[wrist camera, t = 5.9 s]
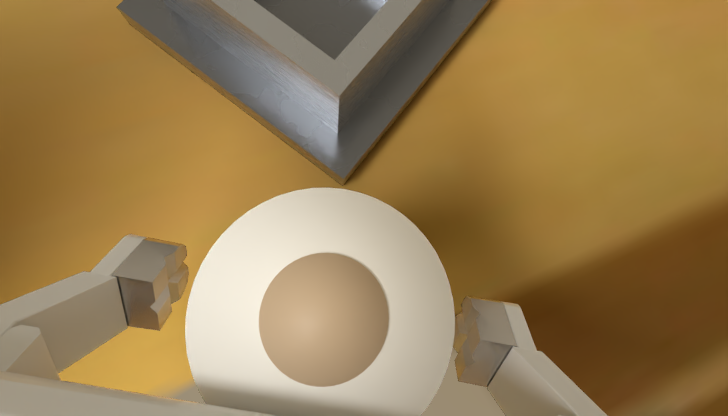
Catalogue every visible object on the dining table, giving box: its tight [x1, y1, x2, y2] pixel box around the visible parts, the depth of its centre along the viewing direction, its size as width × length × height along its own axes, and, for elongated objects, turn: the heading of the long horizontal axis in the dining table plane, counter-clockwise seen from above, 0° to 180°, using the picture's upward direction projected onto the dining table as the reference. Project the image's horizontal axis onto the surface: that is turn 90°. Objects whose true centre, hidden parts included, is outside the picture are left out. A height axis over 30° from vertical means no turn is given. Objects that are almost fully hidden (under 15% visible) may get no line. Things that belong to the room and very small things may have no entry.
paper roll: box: [185, 188, 455, 416], centre depth 12 cm, size 5×5×10 cm
